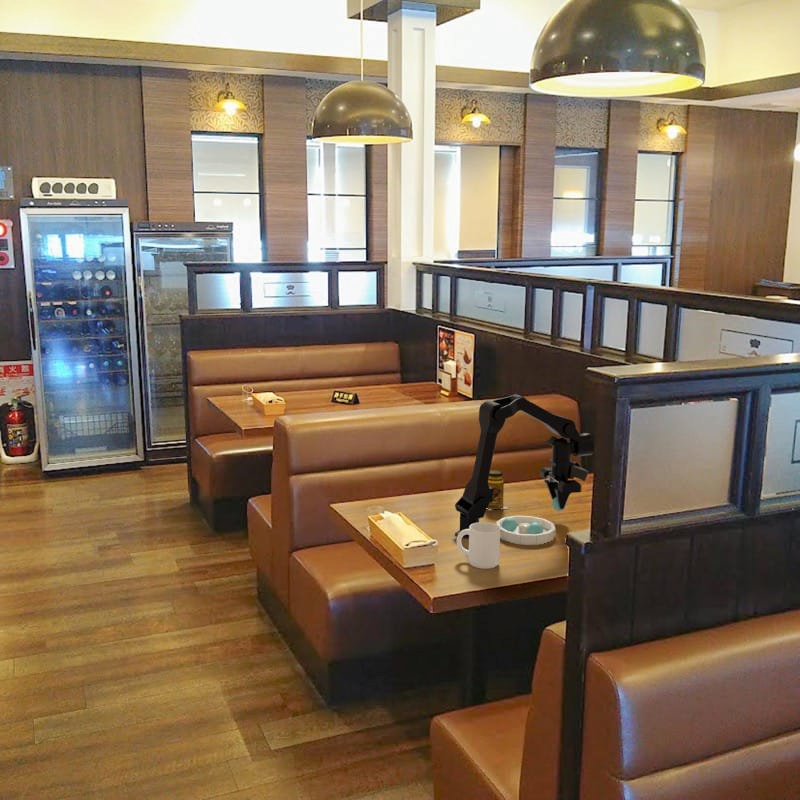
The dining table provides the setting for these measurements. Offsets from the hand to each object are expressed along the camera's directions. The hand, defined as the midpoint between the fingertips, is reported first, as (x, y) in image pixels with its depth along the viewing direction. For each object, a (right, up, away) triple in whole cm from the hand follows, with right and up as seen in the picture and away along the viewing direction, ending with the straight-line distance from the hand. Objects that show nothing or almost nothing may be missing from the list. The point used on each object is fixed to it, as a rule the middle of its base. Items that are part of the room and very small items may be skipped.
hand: (558, 506), depth 261 cm
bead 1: (-17, -4, -11) cm, 21 cm away
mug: (-28, -11, -32) cm, 44 cm away
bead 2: (-10, -5, -15) cm, 19 cm away
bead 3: (0, +1, 0) cm, 1 cm away
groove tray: (-12, -7, -11) cm, 18 cm away
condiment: (-19, -2, +15) cm, 24 cm away
